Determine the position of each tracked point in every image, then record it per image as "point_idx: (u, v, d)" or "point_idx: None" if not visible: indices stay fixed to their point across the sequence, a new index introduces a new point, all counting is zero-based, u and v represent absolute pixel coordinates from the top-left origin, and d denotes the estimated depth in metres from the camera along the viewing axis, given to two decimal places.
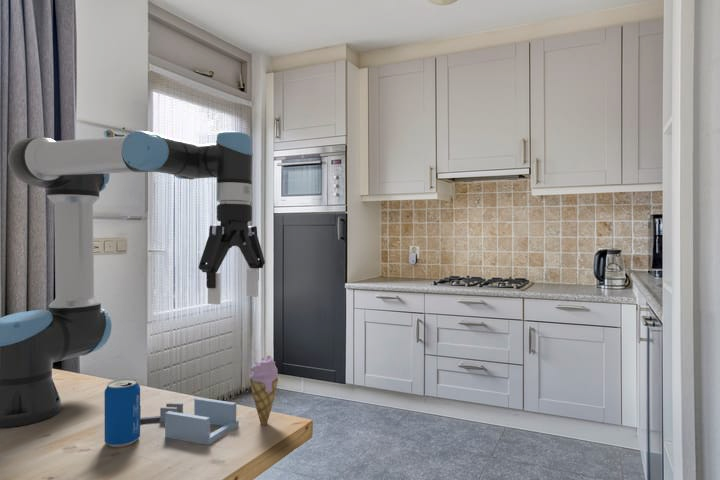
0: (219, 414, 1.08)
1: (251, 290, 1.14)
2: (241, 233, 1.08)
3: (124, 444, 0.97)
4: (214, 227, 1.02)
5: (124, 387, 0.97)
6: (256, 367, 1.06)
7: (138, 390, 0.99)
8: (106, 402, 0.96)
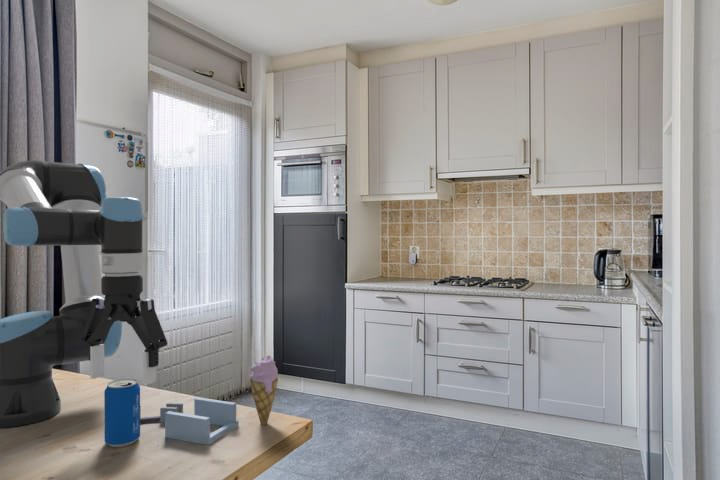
0: (219, 414, 1.08)
1: None
2: None
3: (124, 444, 0.97)
4: None
5: (124, 387, 0.97)
6: (256, 367, 1.06)
7: (138, 390, 0.99)
8: (106, 402, 0.96)
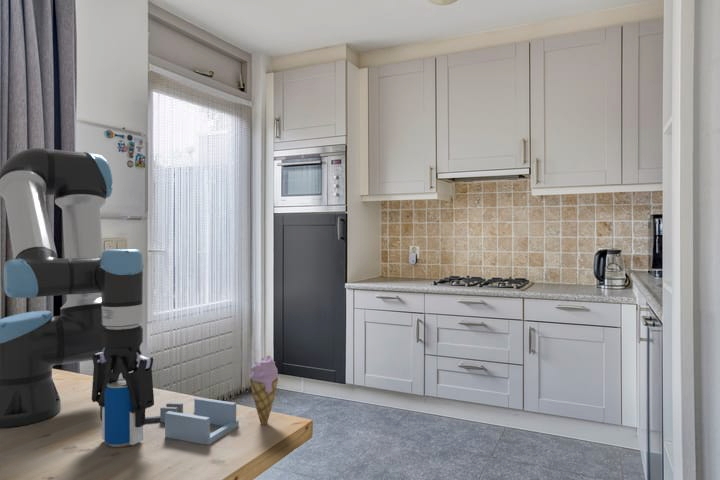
0: (219, 414, 1.08)
1: None
2: None
3: (124, 444, 0.97)
4: None
5: (124, 387, 0.97)
6: (256, 367, 1.06)
7: None
8: (106, 402, 0.96)
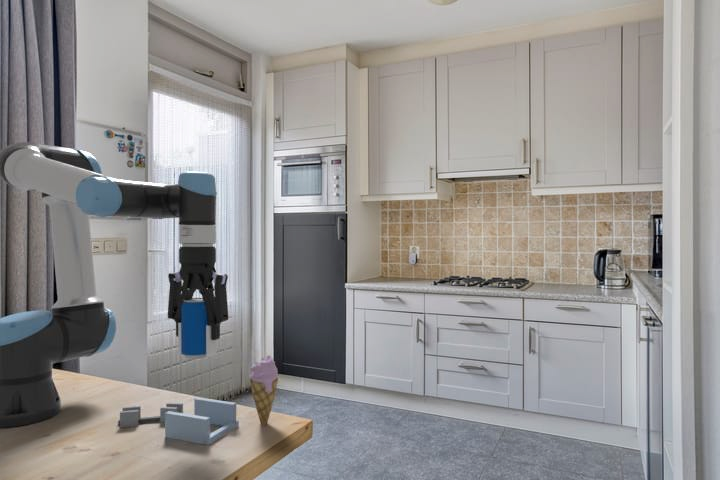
0: (219, 414, 1.08)
1: None
2: None
3: (201, 355, 1.02)
4: None
5: (201, 301, 1.02)
6: (256, 367, 1.06)
7: None
8: (184, 316, 1.02)
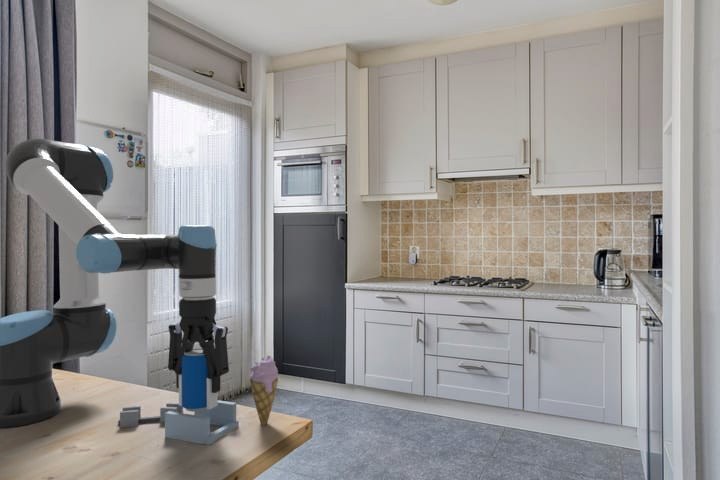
0: (219, 414, 1.08)
1: None
2: None
3: (201, 409, 1.02)
4: None
5: (201, 354, 1.02)
6: (256, 367, 1.06)
7: None
8: (184, 369, 1.02)
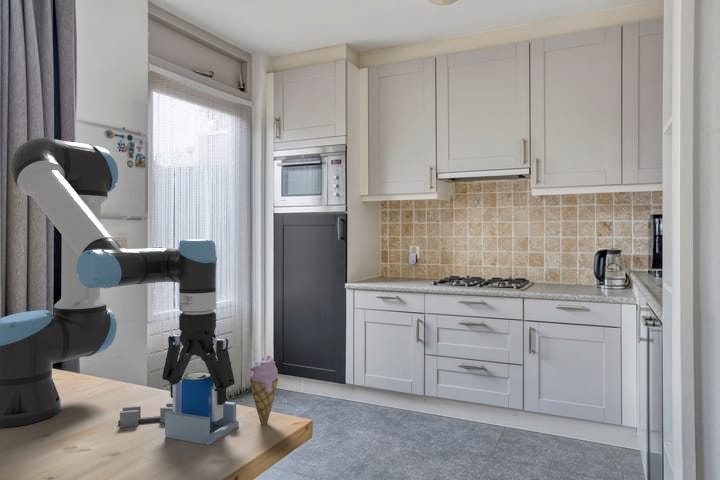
0: None
1: None
2: None
3: None
4: None
5: (201, 378, 1.02)
6: (256, 367, 1.06)
7: (212, 382, 1.05)
8: (184, 393, 1.02)
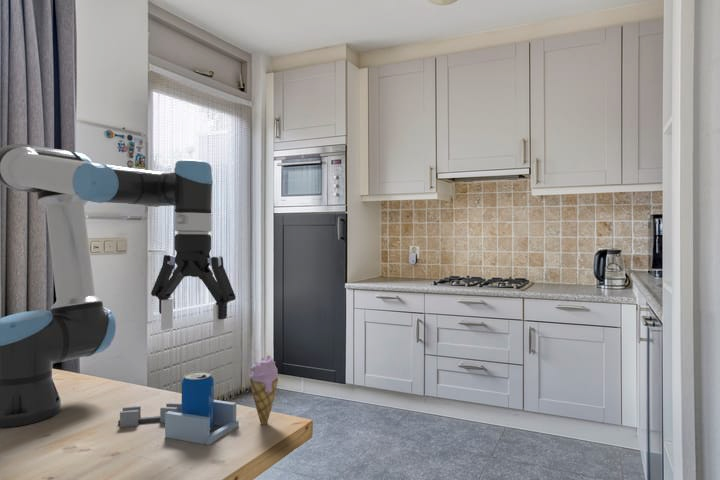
0: (219, 414, 1.08)
1: None
2: None
3: None
4: None
5: (201, 378, 1.02)
6: (256, 367, 1.06)
7: (212, 382, 1.05)
8: (184, 393, 1.02)
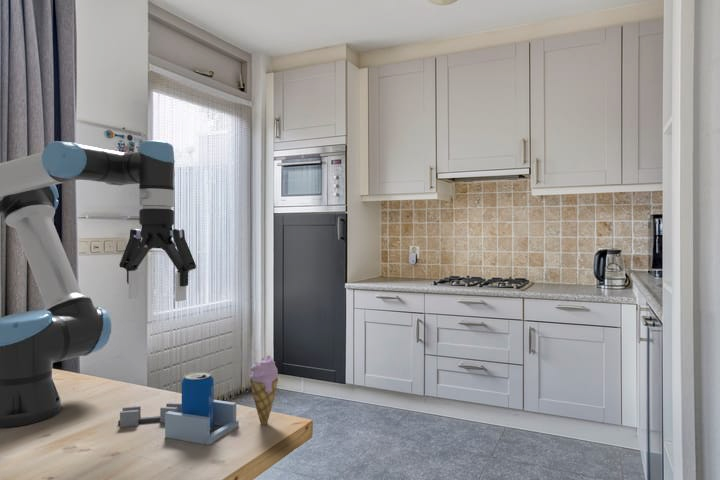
0: (219, 414, 1.08)
1: None
2: None
3: None
4: None
5: (201, 378, 1.02)
6: (256, 367, 1.06)
7: (212, 382, 1.05)
8: (184, 393, 1.02)
